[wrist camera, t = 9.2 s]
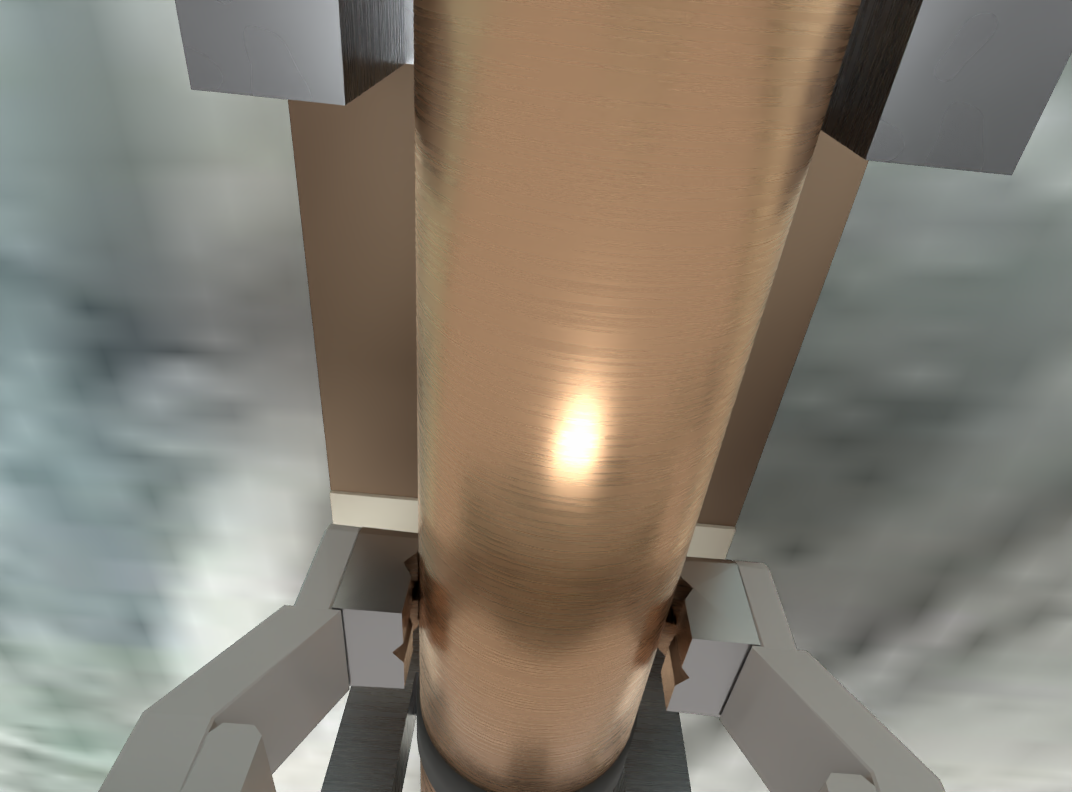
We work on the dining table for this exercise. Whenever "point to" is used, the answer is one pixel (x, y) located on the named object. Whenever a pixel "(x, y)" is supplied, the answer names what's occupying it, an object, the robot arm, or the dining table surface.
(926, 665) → the dining table surface
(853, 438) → the dining table surface
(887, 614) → the dining table surface
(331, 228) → the cradle board
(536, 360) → the copper tube
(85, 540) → the dining table surface
